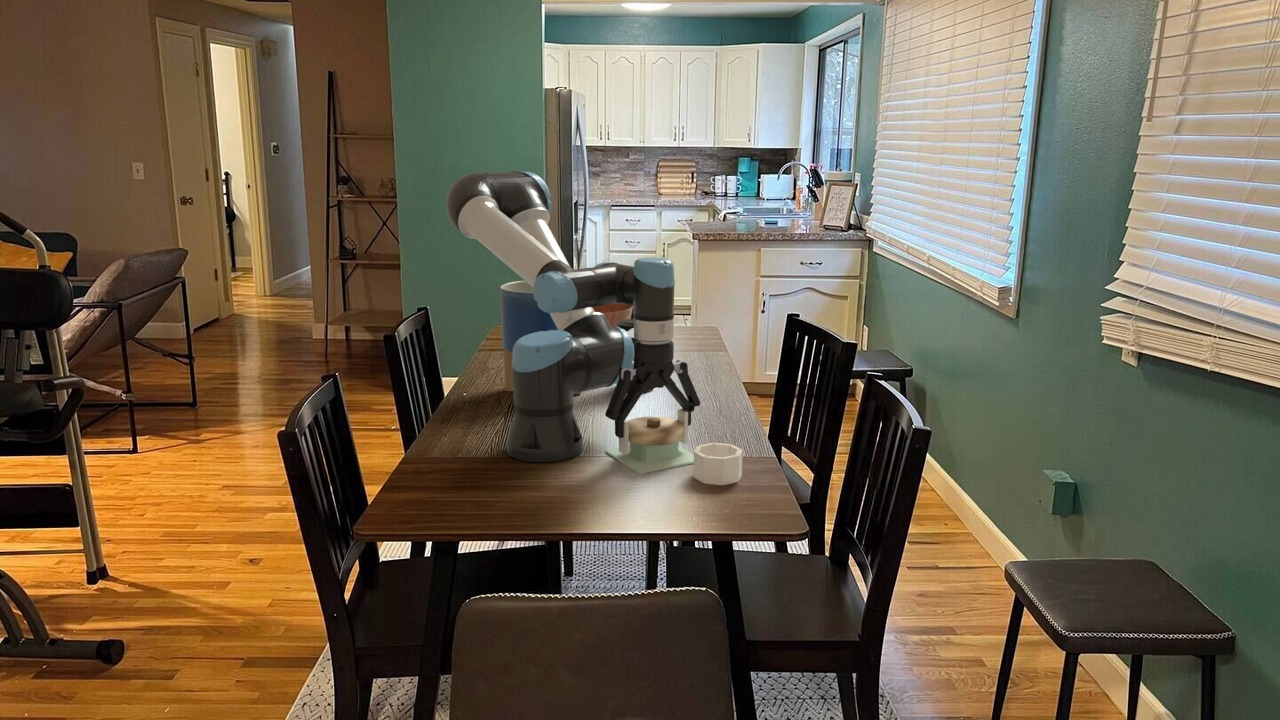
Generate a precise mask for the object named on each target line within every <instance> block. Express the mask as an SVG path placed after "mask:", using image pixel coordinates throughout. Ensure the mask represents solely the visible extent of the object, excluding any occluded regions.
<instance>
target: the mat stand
mask: <svg viewBox="0 0 1280 720" xmlns="http://www.w3.org/2000/svg"><path fill="white" fill-rule="evenodd" d="M604 452H605V453H606V454H607V455H609V456H611V457H612V458H614V459H615V460H617V461H618V462H620V463H621V464H623V465H625V466H626V467H628V468H629V469H631V470H632V471H634V472H635V473H638V474H639V475H642V474H647V472H648V473H652V471H653V472H658V471H661V470H667V469H671V468H678V467H683V466H687V465H692V464H693V465H694V453H692V452H690V451H689V450H687V449H684V448H683V447H681V446H679V442H676V443H673V444H668V445H658V446H651V445H640V444H635V443H631V442H629V454H628V455H625V454H623V453H621V452H620V451H619V447H617V448H611V449H606V450H605V451H604Z"/></svg>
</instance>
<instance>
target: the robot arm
mask: <svg viewBox="0 0 1280 720" xmlns="http://www.w3.org/2000/svg"><path fill="white" fill-rule="evenodd" d="M551 196H552V195H551V193H550V189H549V187H548V185H547V183H546V182H545V180H544V179H543V178H541V177H540V176H539V175H537V173H534V172H530V171H521V170H513V171H509V172H505V171H504V172H473V173H472V172H471V173H467V174H465V175H463V176H461V177H460V178H458V179H457V180H456V181H455V182H454V183H452V185H451V187H450V189H449V190H448V192H447V196H446V200H445V207H446V214H447V216H448V219H449V221H450V222H451V223H452V225H453V227H455V229H456V230H458V232H460V233H461V234H462V235H463V236H464V237H466V238H467V239H472V240H473V239H474V240H477V241H478V242H479V243H480V244H481V245H483V246H484V247H485V248H486V249H488V250H489V251H490V252H491V253H492V254H493V255H494V256H496V257H497V258H498V259H499V260H500V261H502V262H503V263H504V264H505V265H506V266H507V267H509V268H510V270H512V271H513V272H514V273H516V274H517V275H518V276H519V277H520V278H522V279H523V281H526V282H527V283H529V284H530V285H531V286H532V287H533V295H534V299H535V301H537V304H538V307H539V308H540V309H541V310H542V311H544V312H547V313H549V314H550V315H551V317H552V319H553V321H554V323H555V325H556V327H557V329H558V330H548V331H539V332H535V333H531V334H528V335H525V336H523V337H521V338H520V339H518V340H517V341H516V343H515V344H514V347H513V358H512V367H513V387H514V390H513V406H514V407H513V408H514V410H513V411H514V414H513V419H512V420H511V424H510V427H509V430H508V434H507V439H506V453H507V455H508V456H510V457H511V458H513V459H516V460H518V461H523V462H530V463H552V462H561V461H564V460H568V459H569V460H570V459H572V458H574V457H576V456H578V455H580V454H581V453H582V452H583V449H584V447H583V445H584V443H583V435H582V433H581V430H580V428H579V424H578V421H577V419H576V416H575V413H574V394H575V393H580V392H582V393H583V392H587V391H592V390H597V389H600V388H610V387H612V386H614V385H616V386H615V388H614V390H613V393H612V394H611V395H612V396H611V397H610V400H609V403H608V405H607V408H606V411H605V414H604V416H605V417H606V418H608V419H610V420H612V421H614V435H615V436H616V437H617V438H618V448H619V451H620V452H621V453H623V454H625V455H628V454H629V422H628V420H626V419H627V417H628V416H629V415H630V413H631V411H632V410H633V408H634V407H635V406H636V404H637V402H638V401H639V400H640V398H641V397H642V395H643V394H646V393H645V391H646V390H647V389H649V390H650V389H653V390H654V389H656V388H657V389H658V388H659V389H662V388H664V387H665V388H666V389H667V391H668V392H669V393H670V394H671V396H672V397H673V399H674V400H675V401H676V402H677V403H678V404H679V405H680V408H677V420H679V421H681V422H682V423H683V424H684V425H685V436H684V438H683V439H682V440H681V441H679V443H682V444H683V445H686V444H687V445H688V444H689V443H688V439H689V436H688V435H689V426H690V427H691V425H692V412H694V411H695V410H696V409H695V407H699V406H701V401H700V398H699V395H698V394H697V391H696V389H695V387H694V384H693V381H692V380H691V377H690V375H689V370H688V363H687V362H685V361H682V360H680V359H677V360H676V361H675V362H673V360H674V353H675V351H674V350H675V349H674V345H675V344H674V343H675V342H673V339H674V336H675V335H674V334H675V333H674V330H675V329H674V328H675V327H674V325H675V324H674V323H675V322H674V320H675V319H674V317H675V316H674V315H675V313H674V311H675V285H676V280H675V268H674V263H673V261H672V260H671V259H669V258H666V257H655V256H654V257H653V256H652V257H639V258H637V259H636V260H635V261H634V264H633V265H626V264H621V263H618V262H614V261H612V262H600V263H597V264H596V265H595V266H593V267H592V266H591V267H584V268H576V269H575V268H572V267H571V265H570V264H569V262H568V260H567V258H566V256H565V254H564V253H563V251H562V249H561V246H559V243H558V242H557V240H556V237H555V236H554V234H553V233H552V230H551V229H550V227H549V222H550V219H551V211H552V201H550V198H552V197H551ZM610 304H626V305H631V306H633V319H634V328H633V338H635V339H636V341H635V343H634V346H633V342H632V339H631V337H630V334H629V332H628V331H627V332H626V331H625V330H624V329H621V328H619V327H611V325H610V323H609V322H608V320H607V318H606V316H605V315H604V314H602V313H599V312H595V311H594V309H593V308H592V307H597V306H603V305H610ZM634 359H635V366H634V369H632V368H633V364H634ZM673 373H676V375H677V378H678V381H679V382H680V385H681V387H682V389H683V391H684V393H685V395H684V393H683V392H682V391H681V390H680V388H679V387H678V386H677V384H676V383H675V381H674V380H673V378H672V377H671V376H672V375H673ZM633 376H635V377H636V379H635V381H634V383H633V384H632V388H631V390H630V391H629V393H628V394H626V393H627V390H628V388H629V385H630V381H631V380H632V379H633ZM640 384H641V386H640Z"/></svg>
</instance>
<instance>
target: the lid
mask: <svg viewBox="0 0 1280 720" xmlns="http://www.w3.org/2000/svg"><path fill="white" fill-rule="evenodd" d="M627 421H628V422H629V442H631V443H635V444H640V445H651V446H658V445H668V444H673V443H676V442H678V443H680V441H681V440H682V439H683V438H684V436H685V425H684V424H683V423H682V422H681V421H679V420H678V419H675V418H671V417H667V416H641V417H635V418H632V419H629V420H627Z"/></svg>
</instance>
